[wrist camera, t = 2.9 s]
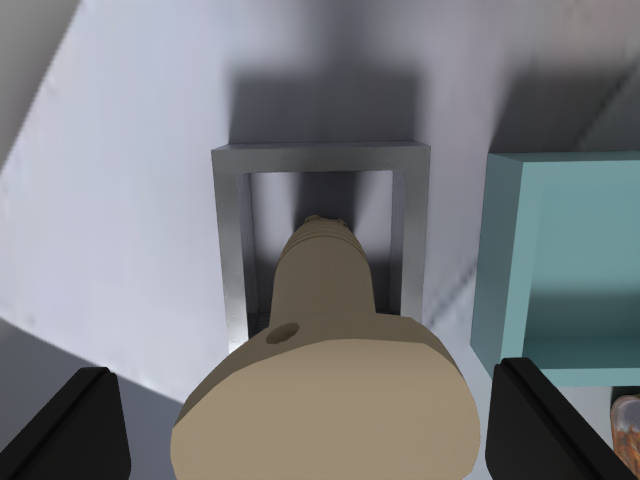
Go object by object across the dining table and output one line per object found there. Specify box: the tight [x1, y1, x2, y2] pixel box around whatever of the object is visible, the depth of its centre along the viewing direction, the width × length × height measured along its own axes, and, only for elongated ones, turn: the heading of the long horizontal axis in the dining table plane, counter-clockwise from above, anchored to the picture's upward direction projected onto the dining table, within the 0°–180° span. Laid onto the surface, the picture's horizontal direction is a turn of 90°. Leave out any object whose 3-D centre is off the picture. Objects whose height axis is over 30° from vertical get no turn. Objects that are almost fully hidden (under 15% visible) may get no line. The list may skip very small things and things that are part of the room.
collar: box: [211, 141, 431, 354], centre depth 22 cm, size 10×9×4 cm
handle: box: [171, 214, 481, 480], centre depth 16 cm, size 5×6×15 cm
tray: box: [470, 151, 640, 387], centre depth 21 cm, size 11×11×4 cm
